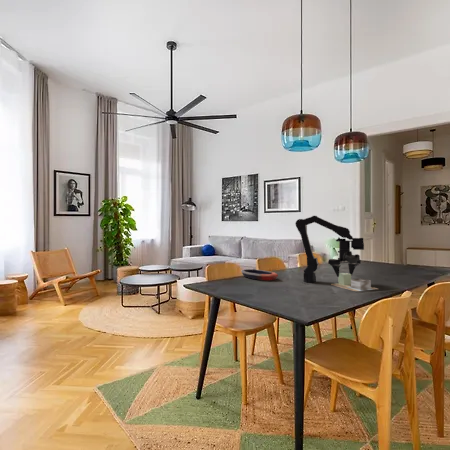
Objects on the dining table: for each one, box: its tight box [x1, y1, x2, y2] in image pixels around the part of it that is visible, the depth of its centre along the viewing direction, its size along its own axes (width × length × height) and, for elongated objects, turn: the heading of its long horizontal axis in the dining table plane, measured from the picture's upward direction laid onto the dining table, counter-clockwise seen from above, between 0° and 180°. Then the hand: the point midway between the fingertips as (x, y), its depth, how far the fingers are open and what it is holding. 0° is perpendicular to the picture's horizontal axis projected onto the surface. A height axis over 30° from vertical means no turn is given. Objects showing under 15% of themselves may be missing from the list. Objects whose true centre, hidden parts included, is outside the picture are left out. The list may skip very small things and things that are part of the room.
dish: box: [240, 268, 279, 281], centre depth 210 cm, size 16×31×5 cm, turn 37°
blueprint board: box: [330, 277, 378, 294], centre depth 176 cm, size 16×20×6 cm
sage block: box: [337, 272, 352, 285], centre depth 183 cm, size 5×5×6 cm
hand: (344, 276), depth 183 cm, fingers open, 9 cm apart
